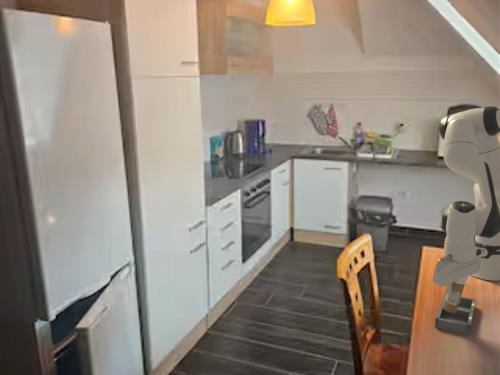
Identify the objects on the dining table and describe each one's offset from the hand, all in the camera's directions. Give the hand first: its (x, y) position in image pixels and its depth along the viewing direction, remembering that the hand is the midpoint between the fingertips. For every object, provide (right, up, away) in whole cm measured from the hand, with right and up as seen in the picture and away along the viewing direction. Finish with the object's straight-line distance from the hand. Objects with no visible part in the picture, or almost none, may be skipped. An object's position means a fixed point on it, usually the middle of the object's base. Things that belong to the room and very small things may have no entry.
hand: (454, 290), depth 156 cm
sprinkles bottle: (-1, -7, +3) cm, 8 cm away
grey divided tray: (+3, -10, +7) cm, 13 cm away
